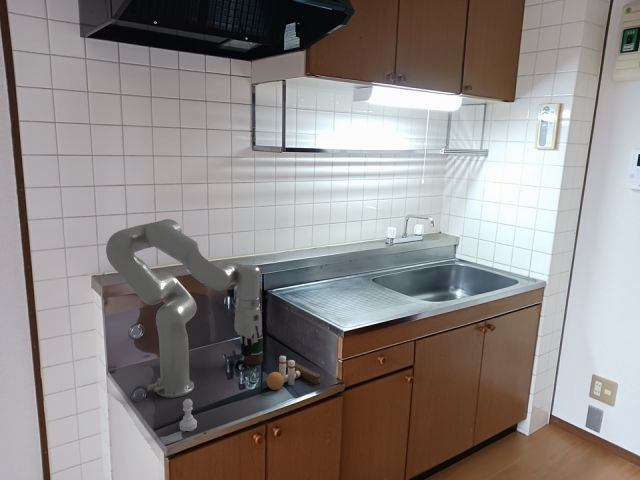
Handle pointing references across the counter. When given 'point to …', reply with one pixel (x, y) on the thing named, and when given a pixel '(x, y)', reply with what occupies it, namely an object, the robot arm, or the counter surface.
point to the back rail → (307, 373)
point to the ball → (275, 380)
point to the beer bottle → (255, 353)
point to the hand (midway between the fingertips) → (246, 354)
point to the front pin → (297, 374)
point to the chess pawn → (188, 417)
